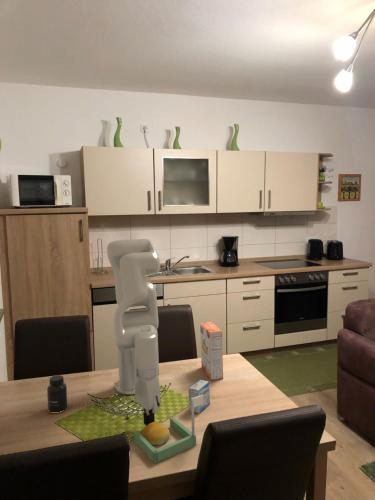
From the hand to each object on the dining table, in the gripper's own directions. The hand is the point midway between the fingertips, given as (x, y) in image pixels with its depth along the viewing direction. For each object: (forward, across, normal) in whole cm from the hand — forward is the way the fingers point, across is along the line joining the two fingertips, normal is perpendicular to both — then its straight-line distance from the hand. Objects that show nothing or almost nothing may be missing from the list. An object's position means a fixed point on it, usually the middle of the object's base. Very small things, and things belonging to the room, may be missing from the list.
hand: (149, 423), depth 127 cm
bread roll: (+2, +6, -1) cm, 6 cm away
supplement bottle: (+2, -31, -21) cm, 37 cm away
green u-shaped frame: (+2, +10, +2) cm, 10 cm away
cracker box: (+2, -21, +42) cm, 47 cm away
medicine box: (+2, -1, +21) cm, 21 cm away
